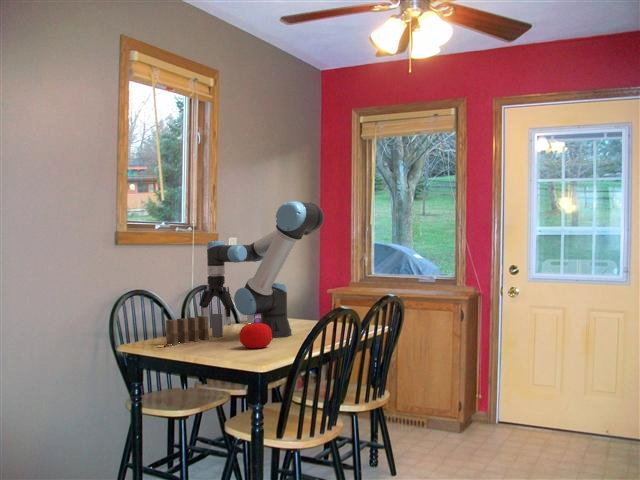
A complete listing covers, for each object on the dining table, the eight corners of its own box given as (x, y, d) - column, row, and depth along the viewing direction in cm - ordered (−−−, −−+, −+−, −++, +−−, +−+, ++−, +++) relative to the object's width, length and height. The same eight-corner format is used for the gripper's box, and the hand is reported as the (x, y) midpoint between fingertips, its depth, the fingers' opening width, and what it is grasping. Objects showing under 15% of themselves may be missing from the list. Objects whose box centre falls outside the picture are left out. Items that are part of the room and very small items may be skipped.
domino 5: (222, 336, 279) (222, 314, 279) (219, 337, 277) (219, 314, 277) (215, 335, 282) (214, 313, 282) (212, 336, 280) (211, 314, 281)
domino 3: (198, 341, 265) (198, 317, 266) (195, 342, 264) (194, 318, 264) (190, 340, 269) (190, 317, 269) (187, 341, 267) (187, 317, 267)
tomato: (274, 348, 240) (274, 321, 240) (241, 351, 236) (241, 323, 236) (268, 344, 250) (268, 318, 250) (236, 347, 247) (236, 320, 247)
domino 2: (188, 343, 261) (187, 318, 261) (184, 343, 260) (184, 319, 260) (180, 342, 264) (180, 318, 264) (177, 342, 263) (176, 318, 263)
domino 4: (208, 339, 270) (208, 316, 270) (205, 340, 268) (204, 316, 268) (200, 339, 273) (200, 315, 273) (197, 339, 271) (197, 316, 272)
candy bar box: (260, 322, 332) (259, 291, 333) (267, 322, 330) (266, 291, 330) (246, 324, 323) (246, 292, 323) (254, 325, 320) (253, 293, 320)
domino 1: (177, 344, 257) (177, 320, 257) (174, 345, 255) (173, 320, 256) (169, 344, 260) (169, 319, 260) (166, 344, 259) (165, 320, 259)
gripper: (191, 275, 285) (191, 322, 285) (229, 276, 269) (229, 326, 269) (203, 274, 291) (204, 320, 291) (241, 275, 275) (242, 324, 275)
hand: (216, 323), depth 280 cm, fingers open, 13 cm apart
